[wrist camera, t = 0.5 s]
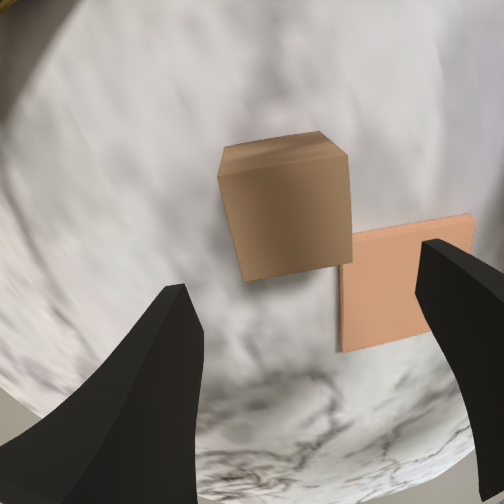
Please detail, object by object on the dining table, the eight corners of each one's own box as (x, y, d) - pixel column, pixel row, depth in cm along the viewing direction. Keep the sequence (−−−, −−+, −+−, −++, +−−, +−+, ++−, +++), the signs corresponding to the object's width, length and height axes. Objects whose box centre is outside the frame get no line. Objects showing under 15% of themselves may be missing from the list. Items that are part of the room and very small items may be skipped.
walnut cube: (318, 130, 15) (347, 155, 11) (327, 214, 18) (352, 262, 14) (224, 146, 16) (217, 176, 12) (243, 229, 18) (243, 281, 14)
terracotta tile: (468, 213, 18) (476, 220, 17) (446, 316, 23) (451, 324, 22) (337, 236, 19) (342, 244, 18) (340, 343, 24) (342, 352, 23)
